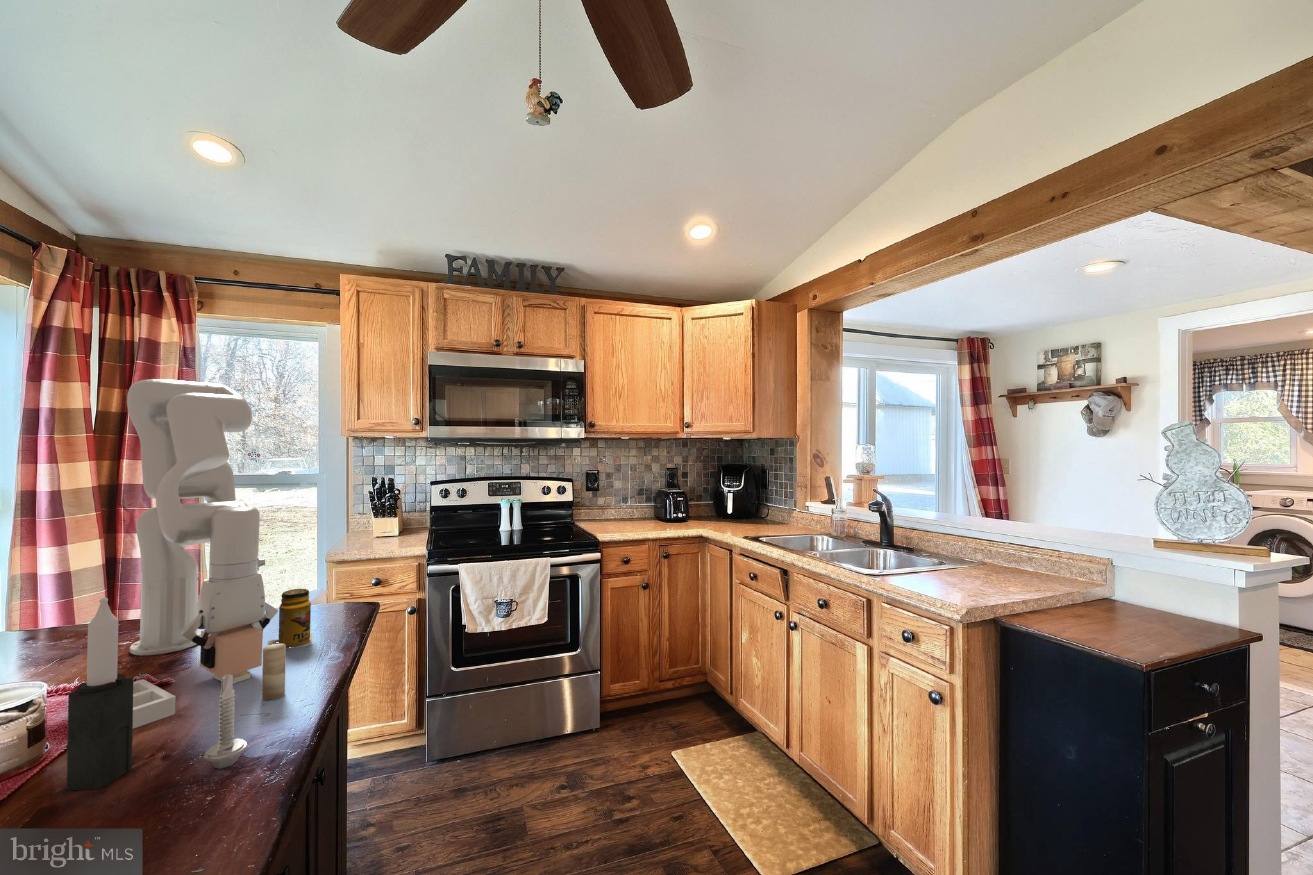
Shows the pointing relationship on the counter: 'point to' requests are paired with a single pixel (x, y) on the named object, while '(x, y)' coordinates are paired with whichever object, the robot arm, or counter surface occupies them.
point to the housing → (236, 650)
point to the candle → (100, 711)
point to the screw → (226, 730)
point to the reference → (237, 676)
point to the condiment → (294, 619)
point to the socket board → (150, 703)
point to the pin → (273, 672)
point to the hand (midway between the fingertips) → (230, 658)
